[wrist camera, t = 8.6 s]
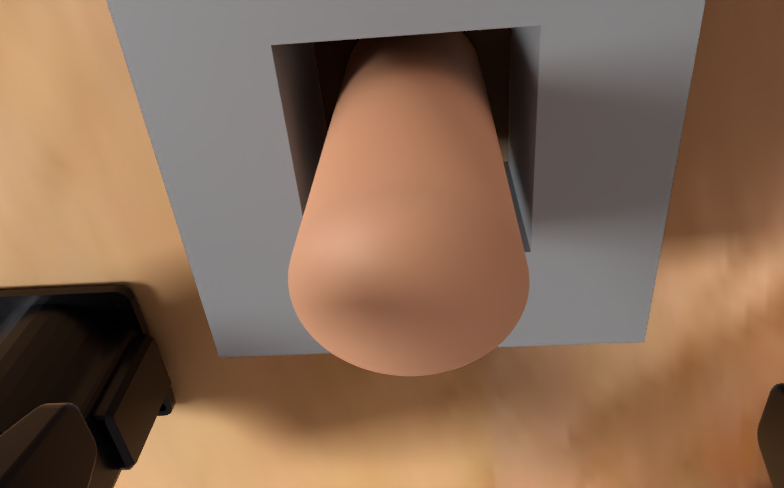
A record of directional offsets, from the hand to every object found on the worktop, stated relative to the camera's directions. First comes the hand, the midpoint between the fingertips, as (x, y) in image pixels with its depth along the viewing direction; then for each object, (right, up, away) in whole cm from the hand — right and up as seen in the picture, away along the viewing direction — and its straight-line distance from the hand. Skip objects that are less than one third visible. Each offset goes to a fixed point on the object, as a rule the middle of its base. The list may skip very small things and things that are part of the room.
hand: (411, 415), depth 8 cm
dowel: (0, +7, +11) cm, 13 cm away
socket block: (0, +7, +11) cm, 13 cm away
